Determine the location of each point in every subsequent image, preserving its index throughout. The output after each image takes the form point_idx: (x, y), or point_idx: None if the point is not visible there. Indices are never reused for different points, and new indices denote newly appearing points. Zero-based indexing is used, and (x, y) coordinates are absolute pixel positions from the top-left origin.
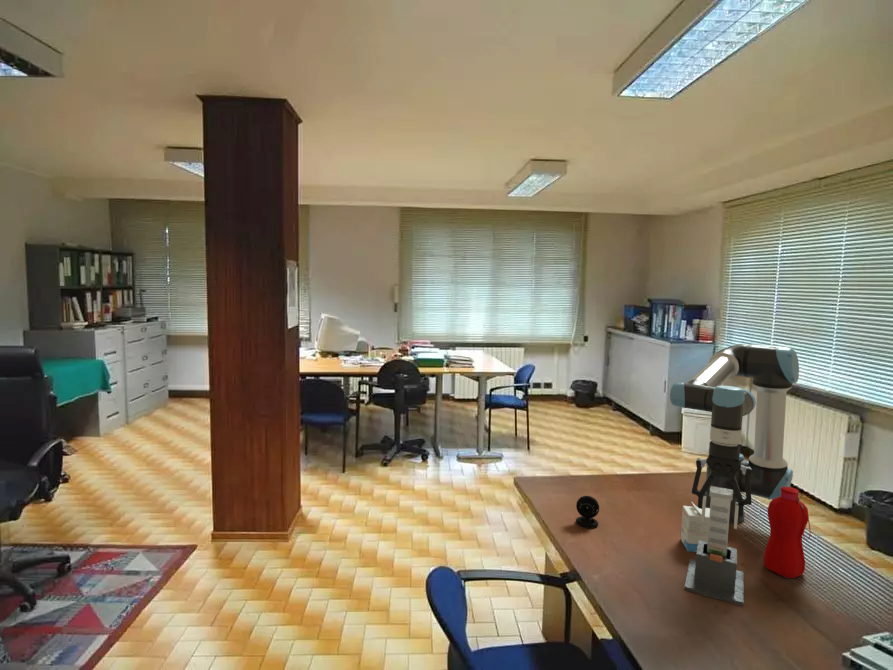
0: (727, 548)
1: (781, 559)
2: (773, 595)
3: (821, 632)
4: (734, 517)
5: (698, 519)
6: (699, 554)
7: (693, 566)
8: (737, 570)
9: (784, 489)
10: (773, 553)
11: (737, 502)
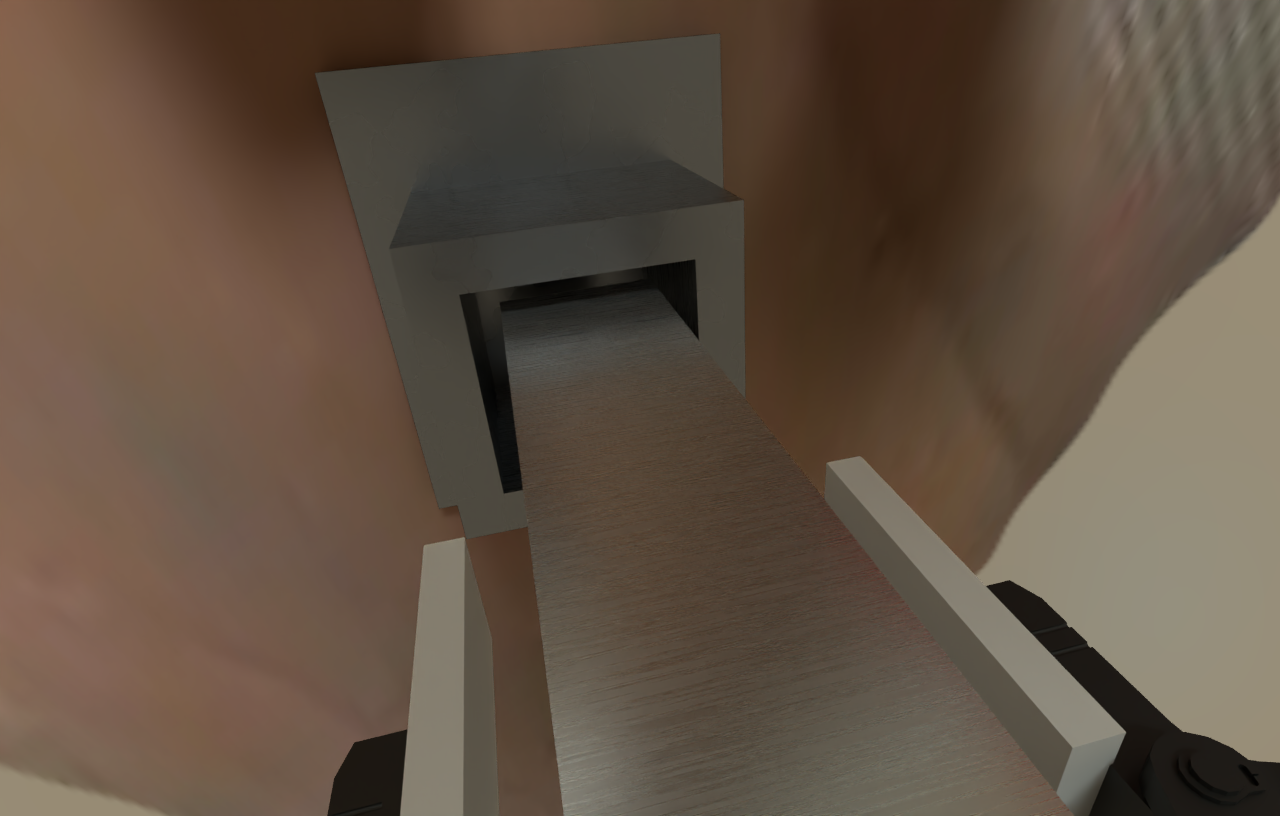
0: (666, 255)
1: None
2: (869, 212)
3: (1004, 418)
4: (881, 544)
5: None
6: (490, 531)
7: (390, 212)
8: (680, 38)
9: None
10: None
11: (1101, 748)
